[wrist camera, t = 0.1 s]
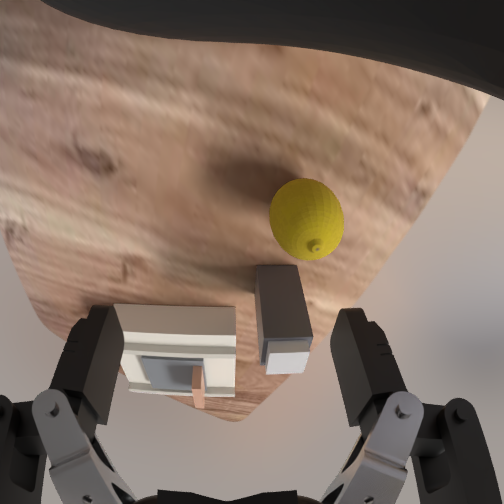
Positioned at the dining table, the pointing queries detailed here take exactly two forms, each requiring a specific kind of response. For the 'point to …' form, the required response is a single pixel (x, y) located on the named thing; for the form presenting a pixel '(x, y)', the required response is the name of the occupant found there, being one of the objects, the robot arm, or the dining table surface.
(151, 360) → the panel
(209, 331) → the socket
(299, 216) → the lemon
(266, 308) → the plug
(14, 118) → the dining table surface
